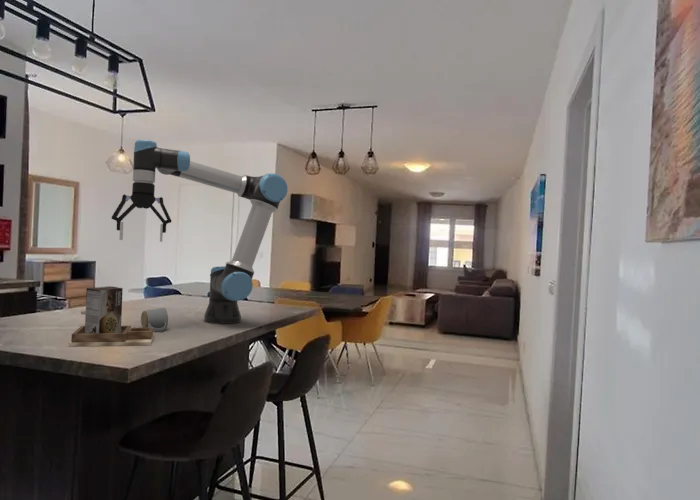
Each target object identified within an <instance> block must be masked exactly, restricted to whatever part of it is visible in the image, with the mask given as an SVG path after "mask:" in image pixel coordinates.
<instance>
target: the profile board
mask: <svg viewBox="0 0 700 500" xmlns="http://www.w3.org/2000/svg"><path fill="white" fill-rule="evenodd" d="M154 336H155V332H154V331H153V328H143V327H132V325H121V333H105V334H85V325H81V326H79V328H77V329H76V330H75V331H74V332H73V333H71V340H70V341H69V342H68V347H112V346H115V347H119V346H120V347H121V346H123V347H124V346H125V347H126V346H127V347H128V346H134V347H135V346H151V345H152V342H153V340H154Z"/></svg>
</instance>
